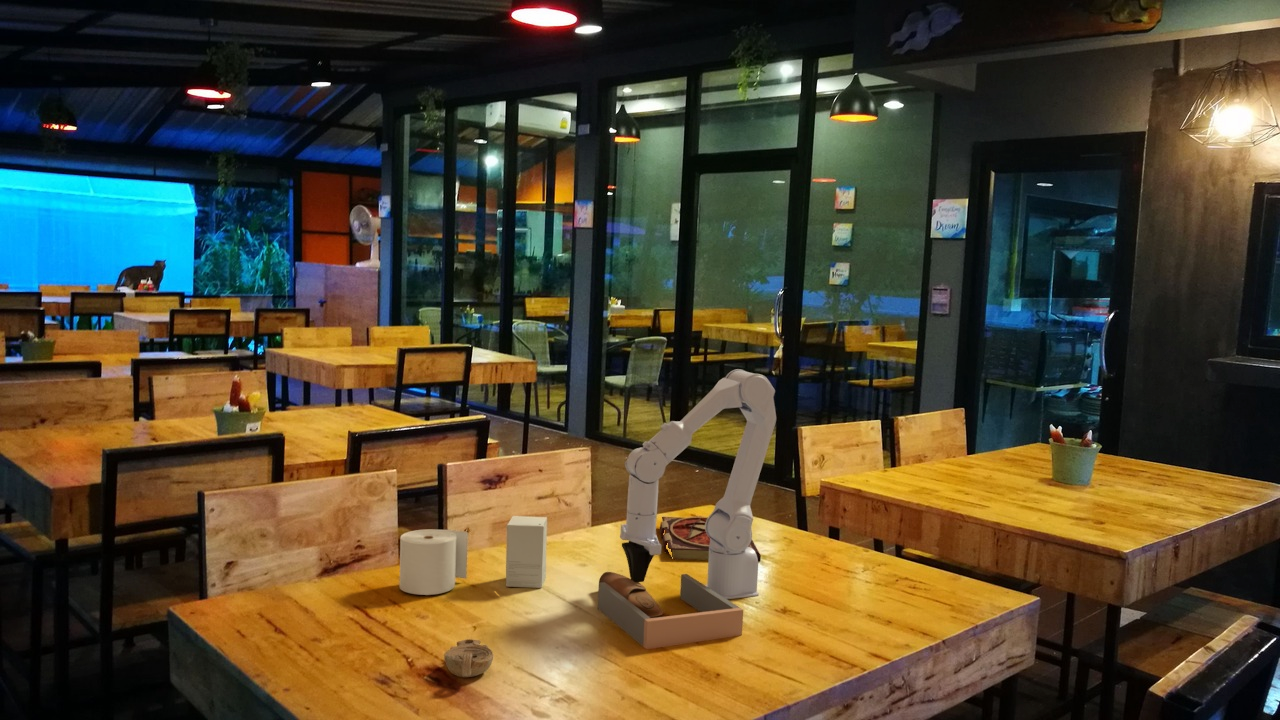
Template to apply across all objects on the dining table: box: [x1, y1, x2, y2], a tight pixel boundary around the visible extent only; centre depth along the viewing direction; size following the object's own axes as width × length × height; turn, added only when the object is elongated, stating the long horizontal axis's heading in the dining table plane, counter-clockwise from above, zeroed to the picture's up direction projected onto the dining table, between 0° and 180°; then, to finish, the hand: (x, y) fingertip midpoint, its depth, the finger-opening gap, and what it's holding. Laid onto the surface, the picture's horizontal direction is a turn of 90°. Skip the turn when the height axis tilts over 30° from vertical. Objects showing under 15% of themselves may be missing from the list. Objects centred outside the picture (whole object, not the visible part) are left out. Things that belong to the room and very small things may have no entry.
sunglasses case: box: [598, 571, 665, 618], centre depth 182 cm, size 18×7×7 cm
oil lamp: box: [443, 638, 494, 678], centre depth 149 cm, size 13×8×5 cm, turn 5°
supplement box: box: [505, 515, 548, 589], centre depth 193 cm, size 7×7×13 cm
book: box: [659, 516, 762, 563], centre depth 227 cm, size 28×21×5 cm
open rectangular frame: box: [597, 573, 744, 650], centre depth 174 cm, size 18×21×5 cm
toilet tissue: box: [398, 528, 469, 596], centre depth 188 cm, size 11×12×10 cm
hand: (637, 581), depth 185 cm, fingers closed, pressing on sunglasses case
